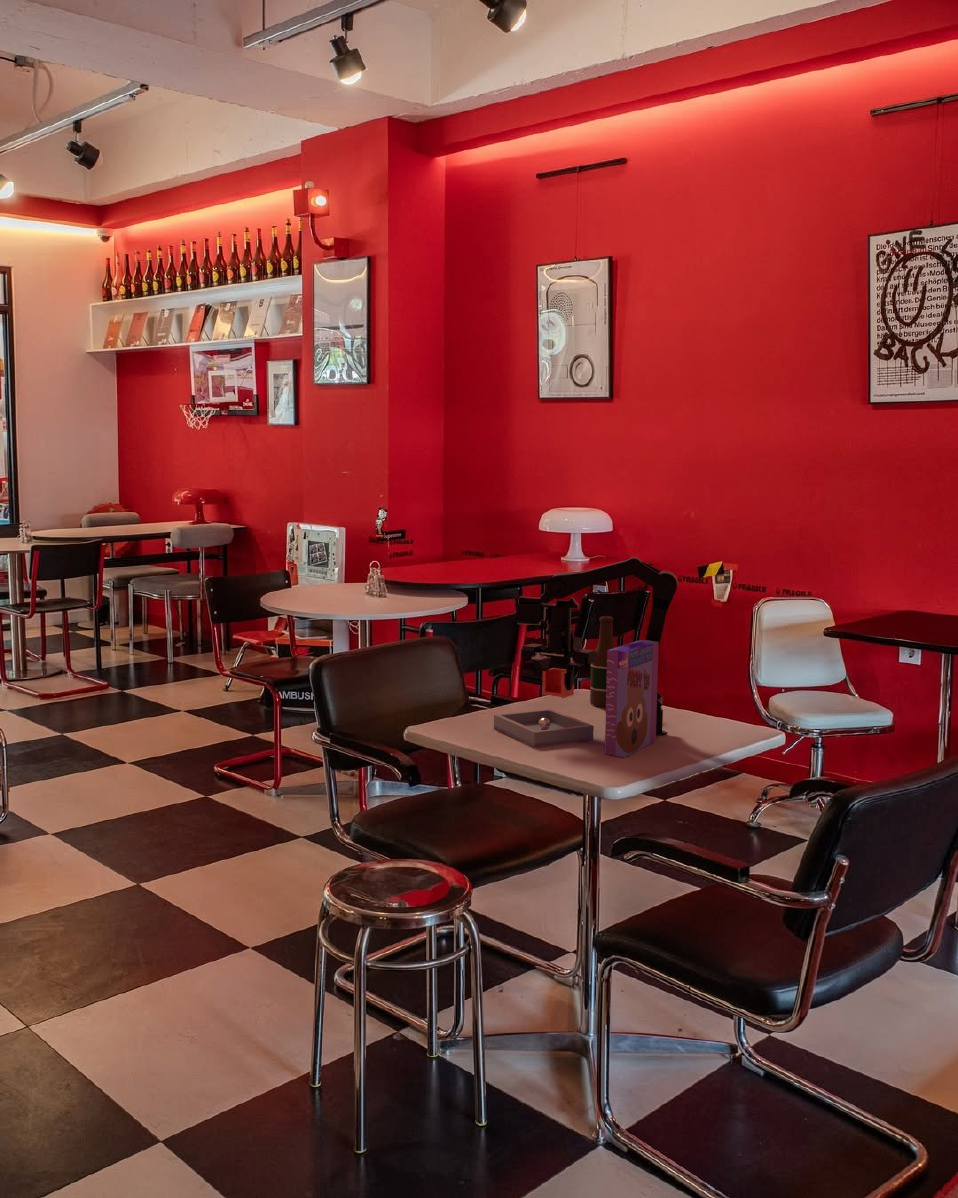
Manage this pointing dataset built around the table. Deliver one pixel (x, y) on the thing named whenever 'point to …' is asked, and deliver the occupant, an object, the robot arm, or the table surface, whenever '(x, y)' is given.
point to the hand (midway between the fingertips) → (558, 688)
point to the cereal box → (631, 698)
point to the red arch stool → (556, 683)
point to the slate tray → (528, 731)
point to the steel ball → (544, 724)
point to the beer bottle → (601, 663)
